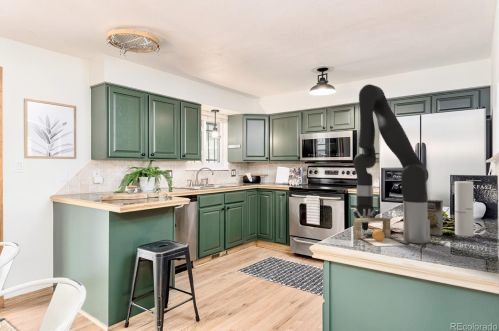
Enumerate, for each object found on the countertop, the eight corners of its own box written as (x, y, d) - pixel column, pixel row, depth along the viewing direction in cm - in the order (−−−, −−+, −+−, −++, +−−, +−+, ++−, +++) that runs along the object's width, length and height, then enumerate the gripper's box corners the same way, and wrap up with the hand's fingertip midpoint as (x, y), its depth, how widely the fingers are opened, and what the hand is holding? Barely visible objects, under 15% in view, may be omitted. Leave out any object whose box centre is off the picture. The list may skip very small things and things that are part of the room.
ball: (379, 235, 135) (382, 226, 133) (385, 243, 131) (388, 234, 128) (369, 236, 135) (371, 227, 132) (374, 244, 130) (377, 234, 128)
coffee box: (418, 233, 146) (418, 199, 146) (421, 230, 151) (421, 198, 151) (441, 235, 140) (440, 201, 140) (443, 233, 145) (442, 199, 145)
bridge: (353, 237, 139) (353, 218, 139) (386, 236, 141) (386, 217, 141) (356, 238, 136) (356, 219, 136) (390, 237, 138) (390, 218, 138)
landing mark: (388, 238, 136) (388, 238, 136) (404, 245, 124) (404, 245, 124) (362, 239, 135) (362, 238, 135) (376, 246, 123) (376, 246, 123)
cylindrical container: (476, 236, 138) (476, 182, 138) (459, 236, 139) (458, 182, 139) (468, 233, 145) (468, 181, 145) (452, 232, 146) (451, 181, 146)
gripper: (373, 193, 151) (373, 228, 151) (348, 194, 150) (348, 228, 150) (381, 195, 143) (381, 231, 144) (355, 195, 142) (355, 232, 142)
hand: (364, 230), depth 147 cm, fingers closed
